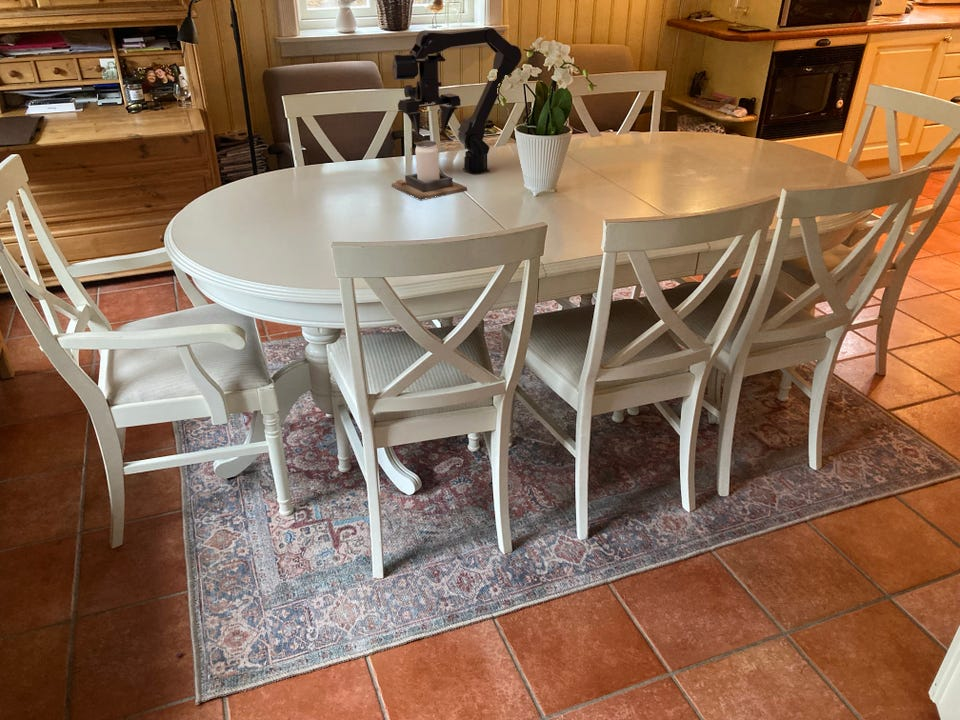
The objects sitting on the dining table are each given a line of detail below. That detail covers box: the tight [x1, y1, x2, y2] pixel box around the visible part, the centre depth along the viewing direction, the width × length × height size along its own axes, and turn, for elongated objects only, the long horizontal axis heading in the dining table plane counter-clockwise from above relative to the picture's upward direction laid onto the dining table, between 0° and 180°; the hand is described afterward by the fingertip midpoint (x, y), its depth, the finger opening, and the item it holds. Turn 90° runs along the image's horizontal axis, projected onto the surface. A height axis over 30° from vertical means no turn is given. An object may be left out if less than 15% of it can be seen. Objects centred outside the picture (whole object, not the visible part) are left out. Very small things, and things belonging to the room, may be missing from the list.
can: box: [414, 140, 440, 182], centre depth 217 cm, size 6×6×12 cm
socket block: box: [391, 171, 468, 200], centre depth 220 cm, size 16×16×4 cm
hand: (430, 132), depth 226 cm, fingers open, 9 cm apart
